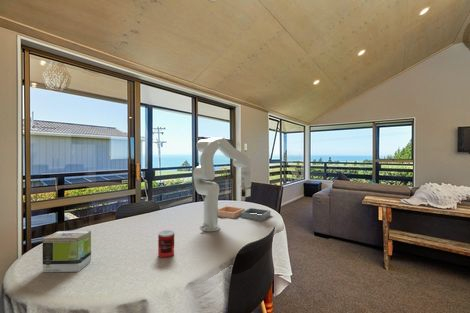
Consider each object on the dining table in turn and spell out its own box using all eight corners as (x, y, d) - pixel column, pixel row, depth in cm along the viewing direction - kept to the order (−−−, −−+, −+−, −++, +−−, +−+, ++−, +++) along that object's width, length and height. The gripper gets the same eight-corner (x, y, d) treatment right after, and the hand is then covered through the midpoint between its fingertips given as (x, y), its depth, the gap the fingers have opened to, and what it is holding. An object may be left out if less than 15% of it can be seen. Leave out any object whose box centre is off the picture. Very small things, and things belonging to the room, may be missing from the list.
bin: (261, 222, 173) (261, 215, 173) (240, 218, 182) (240, 212, 182) (270, 216, 189) (270, 210, 189) (250, 213, 198) (250, 207, 197)
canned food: (168, 250, 122) (168, 229, 122) (177, 254, 117) (177, 232, 117) (154, 254, 116) (155, 232, 116) (164, 259, 111) (164, 236, 111)
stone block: (247, 197, 183) (247, 189, 183) (240, 196, 186) (240, 188, 186) (250, 195, 188) (250, 188, 188) (244, 195, 191) (244, 187, 191)
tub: (233, 219, 179) (234, 213, 179) (214, 216, 188) (214, 210, 188) (244, 214, 195) (244, 208, 195) (226, 211, 203) (226, 205, 203)
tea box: (91, 261, 108) (91, 230, 108) (78, 272, 98) (78, 237, 98) (58, 261, 108) (58, 230, 107) (41, 273, 98) (41, 237, 97)
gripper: (244, 174, 177) (244, 197, 178) (254, 173, 192) (254, 194, 192) (236, 173, 181) (235, 196, 181) (246, 172, 196) (246, 193, 196)
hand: (245, 195), depth 187 cm, fingers closed on stone block, 6 cm apart
